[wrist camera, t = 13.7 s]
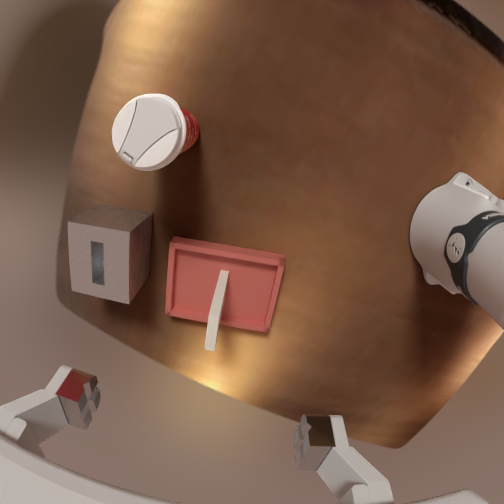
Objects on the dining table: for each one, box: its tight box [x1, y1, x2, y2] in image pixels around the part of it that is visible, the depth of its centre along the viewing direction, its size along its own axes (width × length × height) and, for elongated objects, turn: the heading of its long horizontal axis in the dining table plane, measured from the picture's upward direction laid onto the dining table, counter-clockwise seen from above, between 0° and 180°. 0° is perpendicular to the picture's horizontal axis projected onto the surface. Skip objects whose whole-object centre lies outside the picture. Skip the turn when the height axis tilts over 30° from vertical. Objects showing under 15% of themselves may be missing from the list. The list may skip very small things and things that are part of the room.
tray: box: [165, 236, 285, 332], centre depth 47 cm, size 16×12×2 cm
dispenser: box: [68, 204, 153, 304], centre depth 42 cm, size 9×10×9 cm
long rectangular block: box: [205, 270, 229, 351], centre depth 41 cm, size 1×5×12 cm, turn 170°
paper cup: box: [112, 94, 200, 171], centre depth 33 cm, size 8×8×14 cm
